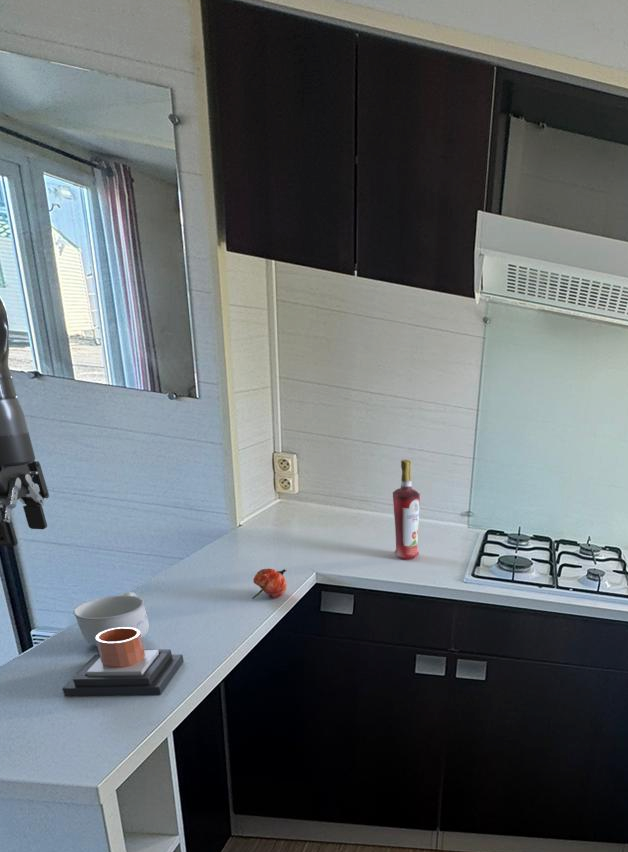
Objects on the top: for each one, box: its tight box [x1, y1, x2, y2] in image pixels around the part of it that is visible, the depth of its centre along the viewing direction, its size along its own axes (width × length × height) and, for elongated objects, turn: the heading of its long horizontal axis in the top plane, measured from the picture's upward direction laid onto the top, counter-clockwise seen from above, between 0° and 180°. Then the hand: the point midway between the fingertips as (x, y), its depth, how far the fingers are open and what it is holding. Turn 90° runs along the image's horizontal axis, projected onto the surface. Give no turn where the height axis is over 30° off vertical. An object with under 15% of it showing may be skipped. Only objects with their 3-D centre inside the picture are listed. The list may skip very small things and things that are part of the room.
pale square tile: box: [87, 650, 159, 676], centre depth 110 cm, size 8×8×2 cm
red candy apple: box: [251, 568, 288, 600], centre depth 147 cm, size 7×7×10 cm
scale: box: [62, 648, 184, 697], centre depth 111 cm, size 14×12×3 cm
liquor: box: [392, 459, 421, 561], centre depth 178 cm, size 7×7×28 cm
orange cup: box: [96, 627, 145, 668], centre depth 109 cm, size 6×6×5 cm
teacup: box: [73, 591, 150, 647], centre depth 121 cm, size 14×11×8 cm
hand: (23, 536), depth 97 cm, fingers open, 8 cm apart
